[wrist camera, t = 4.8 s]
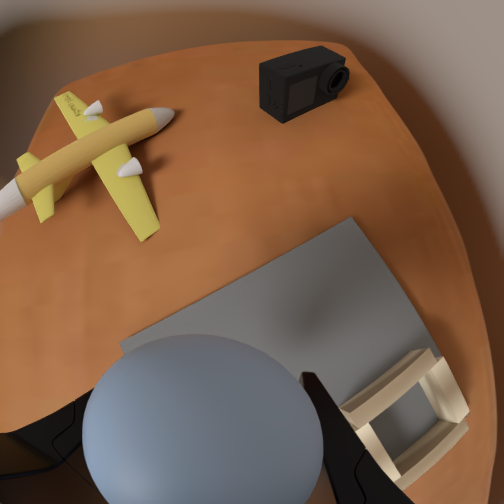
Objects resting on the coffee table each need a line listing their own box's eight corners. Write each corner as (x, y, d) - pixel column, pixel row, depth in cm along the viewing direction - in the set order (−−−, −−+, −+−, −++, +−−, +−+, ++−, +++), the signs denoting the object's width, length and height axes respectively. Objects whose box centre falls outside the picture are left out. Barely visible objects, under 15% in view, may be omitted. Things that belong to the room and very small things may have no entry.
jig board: (463, 412, 18) (469, 412, 17) (257, 547, 14) (257, 553, 13) (348, 221, 26) (350, 216, 25) (124, 343, 22) (119, 342, 21)
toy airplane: (128, 92, 37) (-34, 185, 22) (131, 57, 30) (-54, 156, 16) (224, 206, 35) (24, 349, 21) (242, 173, 29) (-7, 346, 15)
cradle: (455, 419, 17) (474, 422, 14) (377, 486, 15) (391, 498, 12) (416, 345, 20) (435, 341, 17) (329, 412, 18) (340, 419, 15)
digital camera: (288, 130, 30) (293, 82, 24) (258, 108, 32) (258, 62, 26) (343, 103, 33) (354, 61, 26) (314, 84, 34) (320, 44, 28)
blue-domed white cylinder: (295, 408, 13) (407, 518, 2) (222, 444, 12) (137, 598, 1) (254, 339, 15) (240, 247, 3) (182, 376, 14) (-3, 377, 3)
